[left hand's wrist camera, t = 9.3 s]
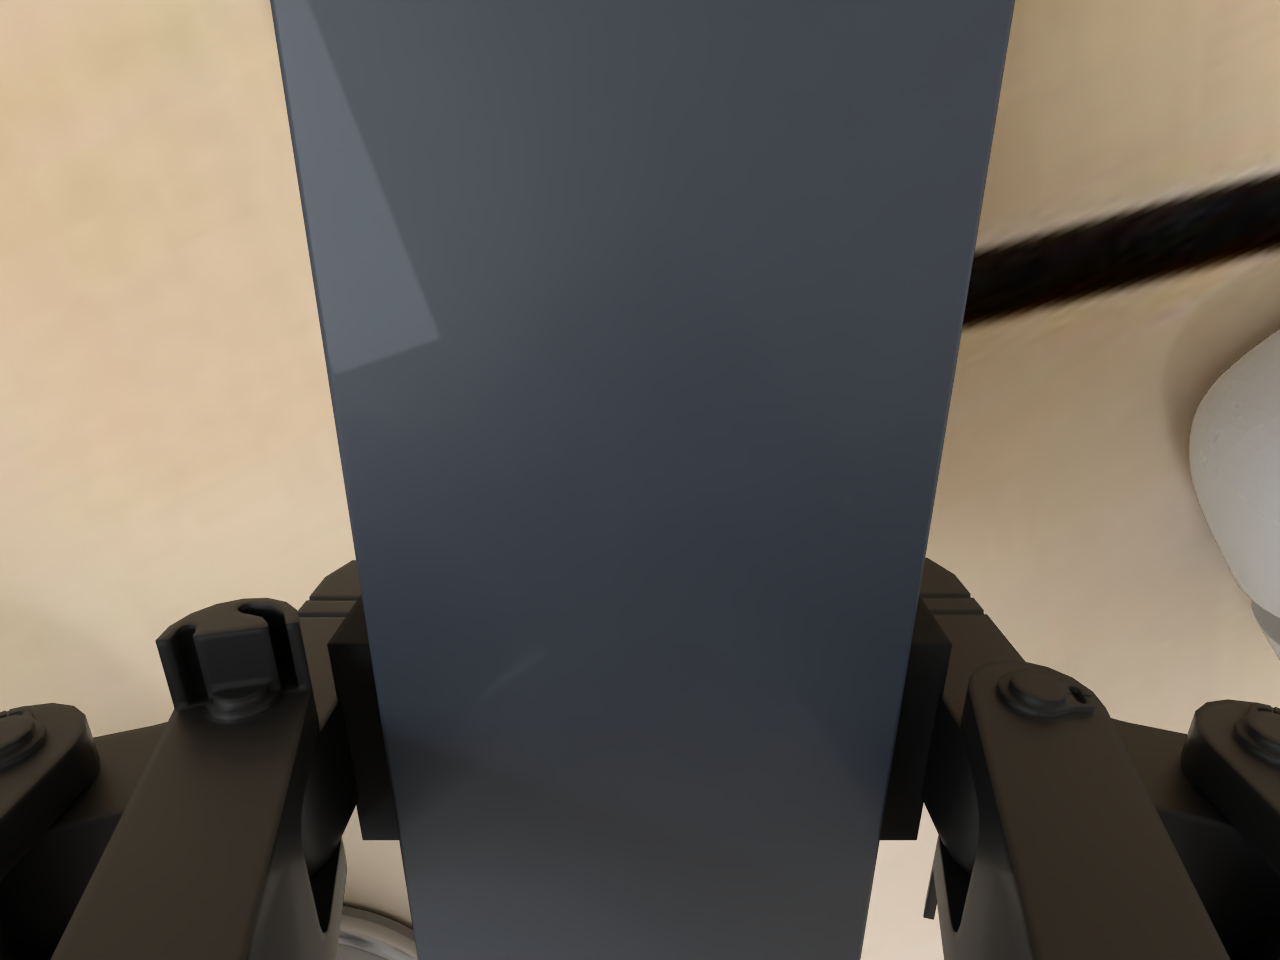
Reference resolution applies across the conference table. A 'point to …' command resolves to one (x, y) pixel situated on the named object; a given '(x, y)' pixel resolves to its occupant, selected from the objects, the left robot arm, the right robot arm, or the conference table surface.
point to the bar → (640, 439)
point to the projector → (1244, 476)
